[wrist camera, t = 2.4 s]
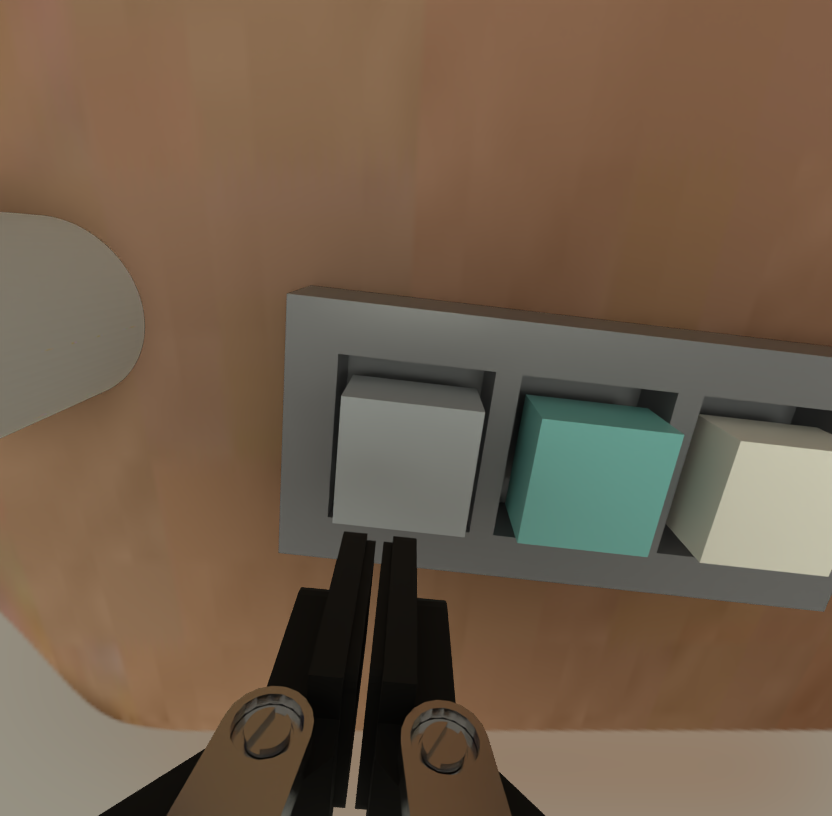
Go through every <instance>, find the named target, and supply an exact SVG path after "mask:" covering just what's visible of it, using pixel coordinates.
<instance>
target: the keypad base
mask: <svg viewBox="0 0 832 816" xmlns="http://www.w3.org/2000/svg"><path fill="white" fill-rule="evenodd" d="M353 375H360V376H369V377H378V378H386V379H395V380H404V381H413V382H421V383H430V384H439V385H448V386H456V387H465V388H474V389H477V391H478V394H479V396H480V399H481V402H482V405H483V408H484V410H485V417H484V423H483V429H482V435H481V441H480V447H479V453H478V459H477V465H476V471H475V477H474V483H473V490H472V496H471V502H470V508H469V514H468V520H467V526H466V532H465V537H456V536H447V535H438V534H429V533H420V532H411V531H401V530H392V529H383V528H374V527H365V526H356V525H346V524H337V523H332V521H333V507H334V492H335V478H336V464H337V449H338V435H339V420H340V406H341V395H342V394H343V392H344V390H345V388H346V387H347V385H348V383H349V381H350V380H351V378H352V376H353ZM526 394H528V395H536V396H545V397H554V398H562V399H571V400H580V401H589V402H597V403H606V404H615V405H624V406H632V407H641V408H648V409H650V410H651V411H652V412H654V413H655V414H656V415H658V416H659V417H661V418H662V419H663V420H665V421H666V422H667V423H669V424H670V425H672V426H673V427H674V428H676V429H677V430H678V431H680V432H681V433H683V434H684V438H683V442H682V445H681V448H680V452H679V455H678V458H677V461H676V465H675V468H674V471H673V475H672V478H671V481H670V485H669V488H668V491H667V495H666V498H665V501H664V505H663V508H662V511H661V515H660V518H659V521H658V525H657V528H656V531H655V535H654V538H653V541H652V545H651V548H650V551H649V555H648V557H641V556H632V555H623V554H614V553H604V552H595V551H586V550H577V549H568V548H559V547H549V546H540V545H531V544H522V543H517V541H516V538H515V534H514V531H513V528H512V525H511V521H510V518H509V515H508V512H507V509H506V505H505V502H506V496H507V491H508V486H509V481H510V475H511V470H512V465H513V459H514V454H515V449H516V444H517V438H518V433H519V428H520V423H521V417H522V412H523V407H524V401H525V396H526ZM699 414H704V415H712V416H721V417H730V418H739V419H747V420H756V421H765V422H774V423H782V424H791V425H800V426H808V427H817V428H819V429H821V430H823V431H826V432H828V433H830V434H832V347H831V346H822V345H814V344H805V343H797V342H788V341H780V340H771V339H763V338H754V337H746V336H737V335H729V334H720V333H712V332H703V331H695V330H686V329H677V328H669V327H660V326H652V325H643V324H635V323H626V322H618V321H609V320H601V319H592V318H584V317H575V316H567V315H558V314H550V313H541V312H533V311H524V310H516V309H507V308H499V307H490V306H482V305H473V304H465V303H456V302H448V301H439V300H431V299H422V298H413V297H405V296H396V295H388V294H379V293H371V292H362V291H354V290H345V289H337V288H328V287H320V286H308V287H305V288H302V289H299V290H296V291H293V292H290V293H287V307H286V338H285V369H284V400H283V432H282V463H281V494H280V525H279V553H285V554H294V555H304V556H313V557H322V558H331V559H337V557H338V553H339V549H340V545H341V541H342V537H343V533H344V531H347V532H357V533H368V536H367V540H373V541H376V547H375V556H374V563H378V564H381V561H382V551H383V542H393V536H398V537H409V538H416V539H417V568H424V569H433V570H443V571H452V572H461V573H470V574H480V575H489V576H498V577H507V578H517V579H526V580H535V581H545V582H554V583H563V584H572V585H582V586H591V587H600V588H609V589H619V590H628V591H637V592H647V593H656V594H665V595H674V596H684V597H693V598H702V599H711V600H721V601H730V602H739V603H749V604H758V605H767V606H776V607H786V608H795V609H804V610H813V611H823V612H824V610H825V608H826V606H827V604H828V601H829V599H830V597H831V595H832V570H831V572H830V574H829V577H826V576H816V575H807V574H798V573H789V572H780V571H771V570H761V569H752V568H743V567H734V566H725V565H716V564H706V563H699V561H698V560H697V559H696V558H695V557H694V556H693V555H692V553H691V552H690V551H689V550H688V549H687V548H686V546H685V545H684V544H683V543H682V542H681V541H680V540H679V538H678V537H677V536H676V535H675V534H674V533H673V532H672V530H671V529H670V528H669V527H668V526H667V525H666V520H667V517H668V514H669V511H670V507H671V504H672V501H673V497H674V494H675V491H676V488H677V484H678V481H679V478H680V475H681V471H682V468H683V465H684V462H685V458H686V455H687V452H688V448H689V445H690V442H691V439H692V435H693V432H694V429H695V426H696V422H697V419H698V416H699Z"/></svg>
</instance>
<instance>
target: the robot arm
mask: <svg viewBox="0 0 832 816" xmlns="http://www.w3.org/2000/svg"><path fill="white" fill-rule="evenodd" d="M367 536H368V533H357V532H347V531H344V533H343V537H342V541H341V545H340V549H339V553H338V557H337V561H336V565H335V569H334V573H333V577H332V581H331V585H330V589H329V590H326V589H315V588H304V587H301V589H300V590H299V593H298V595H297V598H296V601H295V604H294V607H293V610H292V613H291V616H290V619H289V622H288V625H287V628H286V631H285V634H284V637H283V640H282V643H281V646H280V649H279V652H278V655H277V658H276V661H275V664H274V667H273V670H272V673H271V676H270V679H269V682H268V685H267V687H264V688H258V689H256V690H254V691H252V692H249V693H247V694H245V695H244V696H243V697H241V698H240V699H239V700H237V701H236V702H235V703H234V704H233V705H232V706H231V708H230V709H229V710H228V711H227V713H226V714H225V716H224V717H223V719H222V721H221V723H220V724H219V726H218V728H217V729H216V731H215V733H214V735H213V737H212V738H211V740H210V741H209V743H208V745H207V747H206V748H205V749H204V750H202V751H201V752H199V753H197V754H196V755H194V756H193V757H191V758H189V759H188V760H186V761H185V762H183V763H182V764H180V765H178V766H177V767H175V768H174V769H172V770H171V771H169V772H167V773H166V774H164V775H162V776H161V777H159V778H158V779H156V780H154V781H153V782H151V783H150V784H148V785H146V786H145V787H143V788H142V789H140V790H139V791H137V792H135V793H134V794H132V795H130V796H129V797H127V798H126V799H124V800H122V801H121V802H119V803H118V804H116V805H115V806H113V807H111V808H110V809H108V810H107V811H105V812H103V813H102V814H100V815H99V816H332V814H333V807H340V808H345V804H346V797H347V789H348V780H349V773H350V765H351V757H352V749H353V741H354V733H355V725H356V717H357V709H358V701H359V693H360V685H361V677H362V669H363V661H364V653H365V644H366V635H367V625H368V615H369V606H370V596H371V586H372V576H373V566H374V556H375V547H376V541H373V540H367ZM355 804H356V805H355V809H366V810H367V812H366V816H545V815H544V814H543V813H542V812H541V811H540V810H539V809H538V808H537V807H536V806H535V805H534V804H532V803H531V802H530V801H529V800H528V799H527V798H526V797H525V796H524V795H523V794H522V793H521V792H520V791H519V790H518V789H517V788H516V787H514V785H512V784H511V783H510V782H509V781H508V780H507V779H506V778H505V777H504V776H503V775H502V774H501V773H500V772H499V771H498V769H497V765H496V762H495V759H494V755H493V752H492V749H491V745H490V742H489V739H488V736H487V734H486V731H485V729H484V727H483V725H482V723H481V722H480V721H479V720H478V719H477V717H476V716H475V715H474V714H473V713H472V712H470V711H469V710H467V709H466V708H465V707H463V706H461V705H459V704H456V702H455V691H454V679H453V668H452V656H451V645H450V633H449V622H448V610H447V603H446V601H444V600H433V599H422V598H417V539H416V538H409V537H398V536H393V542H383V551H382V561H381V570H380V579H379V589H378V598H377V607H376V617H375V626H374V635H373V645H372V654H371V663H370V673H369V682H368V691H367V701H366V710H365V719H364V729H363V739H362V748H361V757H360V766H359V775H358V785H357V794H356V803H355Z"/></svg>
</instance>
